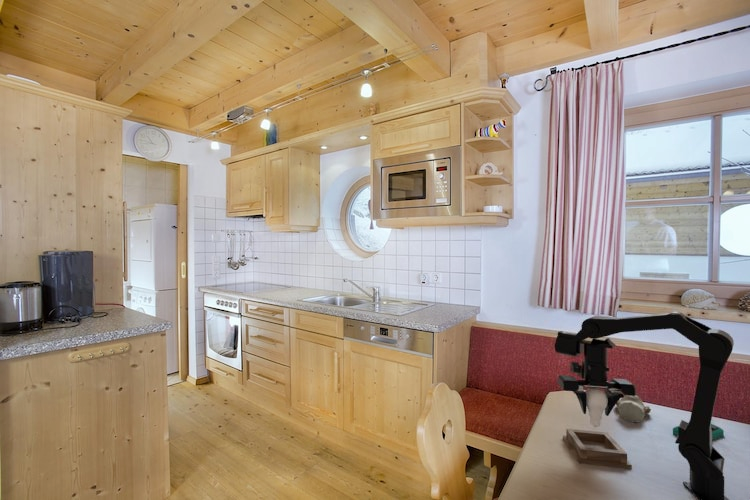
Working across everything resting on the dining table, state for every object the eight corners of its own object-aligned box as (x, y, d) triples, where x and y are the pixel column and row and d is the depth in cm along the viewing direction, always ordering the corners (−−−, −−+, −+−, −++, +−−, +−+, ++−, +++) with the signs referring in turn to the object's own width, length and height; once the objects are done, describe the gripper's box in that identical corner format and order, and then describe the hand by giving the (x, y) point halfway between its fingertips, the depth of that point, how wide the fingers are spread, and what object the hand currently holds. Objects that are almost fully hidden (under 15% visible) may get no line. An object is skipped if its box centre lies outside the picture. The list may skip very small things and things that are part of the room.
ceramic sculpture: (612, 393, 123) (615, 383, 134) (611, 418, 122) (615, 406, 134) (650, 402, 116) (651, 391, 128) (650, 429, 116) (650, 415, 127)
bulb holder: (631, 468, 94) (631, 455, 94) (578, 463, 97) (579, 450, 97) (608, 442, 107) (609, 431, 107) (562, 438, 110) (562, 427, 110)
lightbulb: (578, 424, 103) (578, 386, 103) (591, 419, 106) (591, 383, 106) (599, 433, 98) (599, 394, 98) (612, 429, 100) (612, 390, 100)
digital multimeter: (725, 436, 112) (725, 427, 112) (700, 447, 106) (700, 437, 106) (696, 426, 119) (696, 417, 119) (671, 435, 113) (671, 426, 113)
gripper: (617, 354, 108) (617, 405, 108) (552, 351, 112) (552, 400, 111) (637, 365, 97) (637, 422, 97) (564, 361, 101) (564, 416, 100)
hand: (595, 414), depth 102 cm, fingers closed on lightbulb, 5 cm apart
